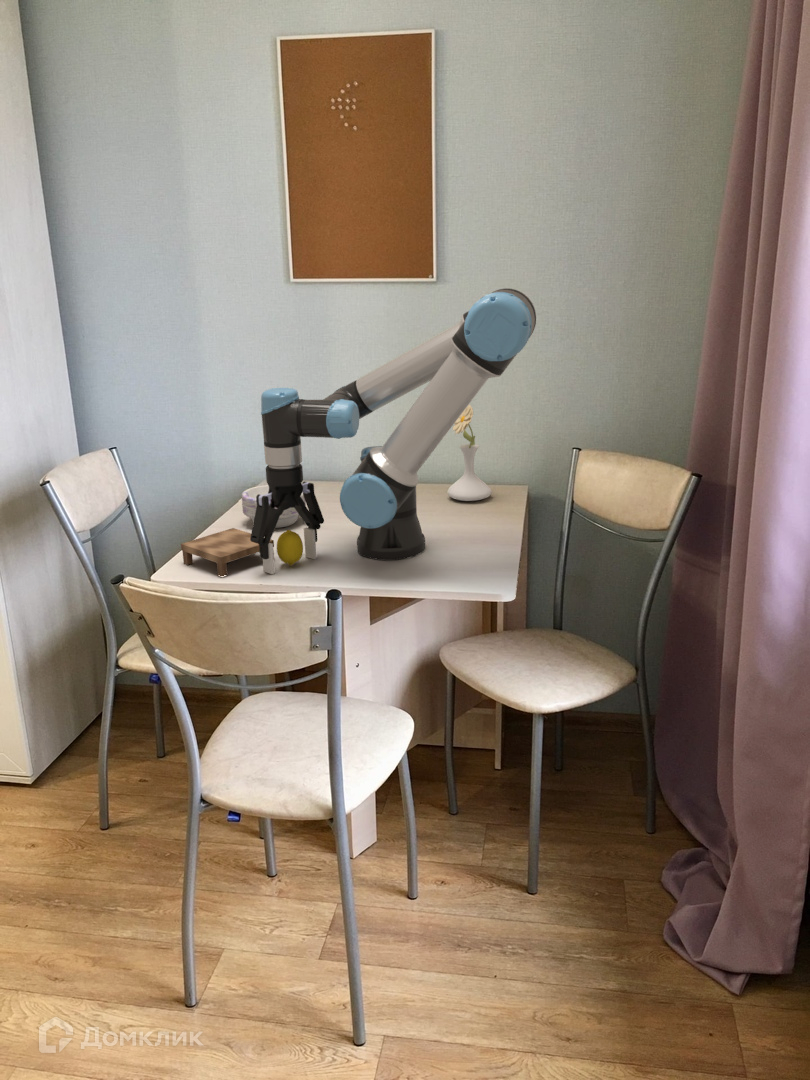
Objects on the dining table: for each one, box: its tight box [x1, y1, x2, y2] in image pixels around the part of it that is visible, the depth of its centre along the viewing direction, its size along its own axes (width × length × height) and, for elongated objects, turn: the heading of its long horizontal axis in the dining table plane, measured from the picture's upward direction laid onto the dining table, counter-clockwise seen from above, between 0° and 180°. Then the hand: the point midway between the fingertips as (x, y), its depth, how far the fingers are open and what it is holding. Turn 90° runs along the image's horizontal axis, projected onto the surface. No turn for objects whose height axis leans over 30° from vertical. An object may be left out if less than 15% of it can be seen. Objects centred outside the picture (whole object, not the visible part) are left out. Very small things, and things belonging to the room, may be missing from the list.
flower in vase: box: [447, 403, 493, 502], centre depth 248 cm, size 13×11×25 cm
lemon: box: [276, 529, 304, 567], centre depth 207 cm, size 6×6×8 cm
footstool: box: [180, 527, 275, 576], centre depth 211 cm, size 14×4×14 cm
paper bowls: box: [241, 484, 307, 529], centre depth 236 cm, size 15×15×8 cm
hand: (290, 564), depth 208 cm, fingers open, 11 cm apart
